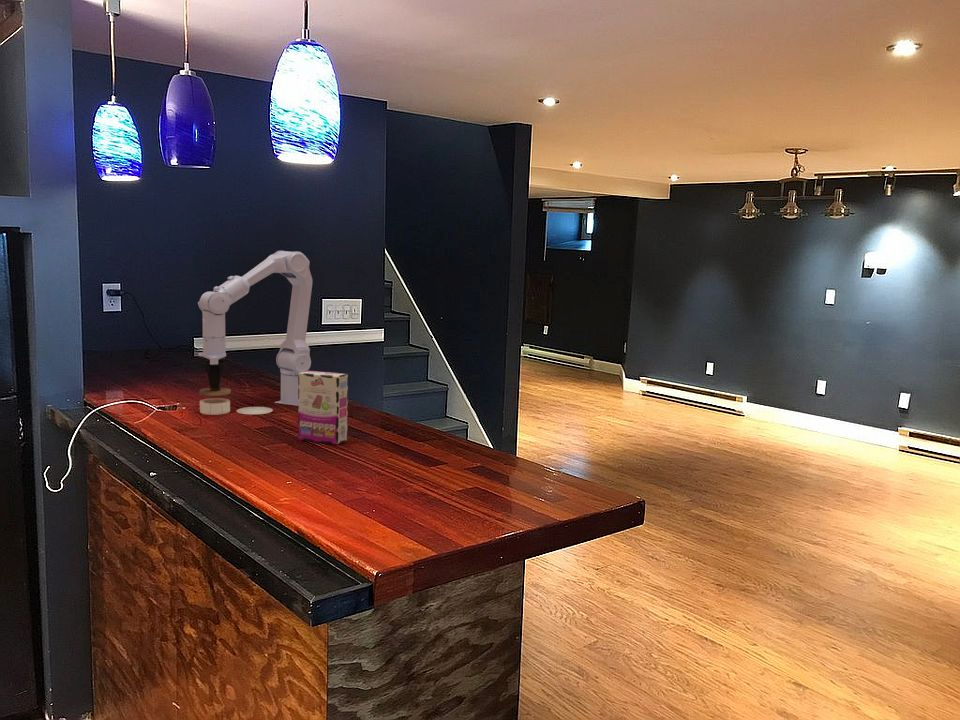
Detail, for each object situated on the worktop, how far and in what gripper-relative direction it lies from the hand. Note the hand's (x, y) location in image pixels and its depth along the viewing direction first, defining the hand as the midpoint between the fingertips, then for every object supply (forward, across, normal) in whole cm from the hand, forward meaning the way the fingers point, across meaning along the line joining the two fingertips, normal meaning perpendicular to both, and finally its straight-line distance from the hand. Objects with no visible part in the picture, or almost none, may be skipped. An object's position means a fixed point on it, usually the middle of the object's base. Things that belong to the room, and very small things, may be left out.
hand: (214, 387), depth 209 cm
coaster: (+7, 0, +10) cm, 13 cm away
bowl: (+7, 0, 0) cm, 7 cm away
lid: (+2, 0, 0) cm, 2 cm away
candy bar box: (+8, +33, +25) cm, 42 cm away
